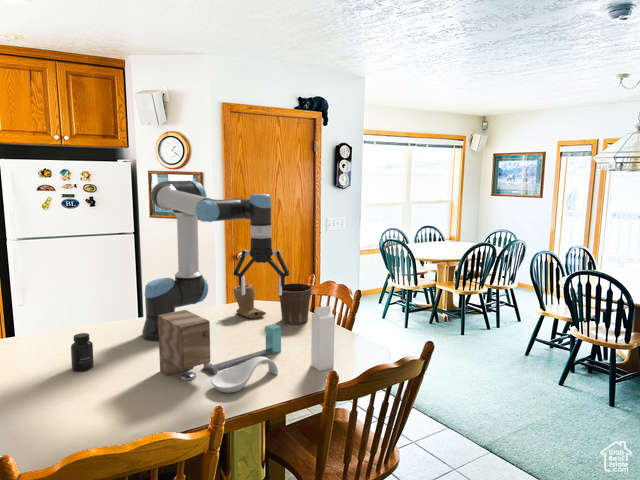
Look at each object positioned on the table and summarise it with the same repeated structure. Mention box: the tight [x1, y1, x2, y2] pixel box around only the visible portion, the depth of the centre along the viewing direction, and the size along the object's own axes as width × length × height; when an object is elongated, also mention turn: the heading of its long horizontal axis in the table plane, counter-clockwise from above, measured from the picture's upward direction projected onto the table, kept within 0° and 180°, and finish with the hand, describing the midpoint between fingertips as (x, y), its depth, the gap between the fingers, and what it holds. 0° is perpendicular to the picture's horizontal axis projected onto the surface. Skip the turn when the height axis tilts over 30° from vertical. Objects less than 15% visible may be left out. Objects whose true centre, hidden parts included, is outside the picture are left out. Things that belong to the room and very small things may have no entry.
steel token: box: [180, 371, 197, 382], centre depth 155 cm, size 5×5×1 cm
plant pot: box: [276, 282, 313, 325], centre depth 215 cm, size 16×16×16 cm
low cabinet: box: [158, 309, 211, 377], centre depth 154 cm, size 19×10×20 cm, turn 43°
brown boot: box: [233, 283, 266, 319], centre depth 223 cm, size 15×12×15 cm
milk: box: [310, 305, 335, 372], centre depth 163 cm, size 6×6×22 cm
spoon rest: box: [210, 356, 279, 394], centre depth 151 cm, size 24×12×7 cm, turn 135°
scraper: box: [202, 323, 282, 375], centre depth 169 cm, size 7×30×10 cm, turn 133°
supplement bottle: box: [70, 332, 95, 373], centre depth 160 cm, size 7×7×12 cm
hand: (261, 294), depth 169 cm, fingers open, 13 cm apart
